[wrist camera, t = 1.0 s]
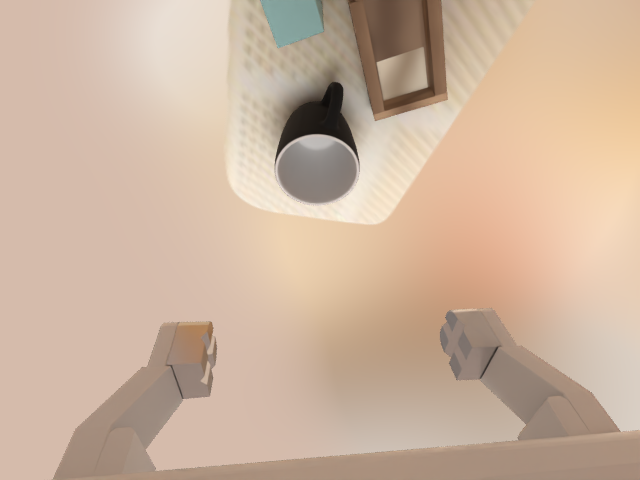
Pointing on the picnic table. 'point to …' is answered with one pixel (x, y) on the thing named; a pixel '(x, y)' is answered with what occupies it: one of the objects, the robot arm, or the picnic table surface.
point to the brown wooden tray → (400, 53)
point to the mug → (317, 152)
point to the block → (293, 19)
